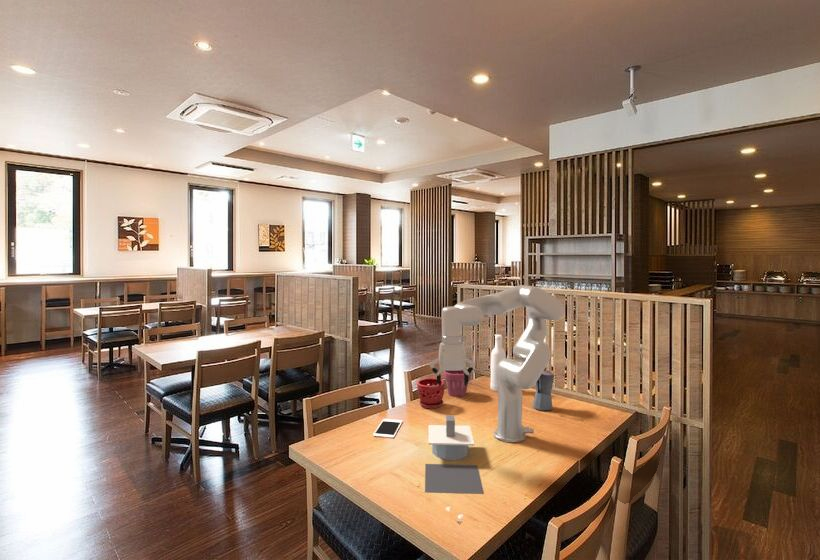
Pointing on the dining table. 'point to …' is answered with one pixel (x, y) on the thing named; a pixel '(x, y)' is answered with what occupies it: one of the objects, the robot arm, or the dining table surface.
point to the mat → (452, 479)
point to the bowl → (450, 451)
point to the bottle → (496, 361)
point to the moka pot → (544, 391)
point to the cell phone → (388, 428)
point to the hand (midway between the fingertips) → (452, 384)
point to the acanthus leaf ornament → (458, 516)
